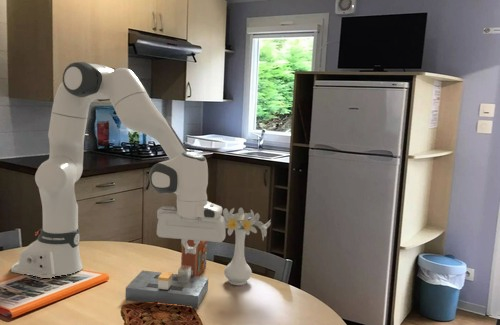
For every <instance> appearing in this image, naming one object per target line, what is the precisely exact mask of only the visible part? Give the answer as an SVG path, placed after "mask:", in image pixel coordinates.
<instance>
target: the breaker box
mask: <svg viewBox="0 0 500 325" xmlns="http://www.w3.org/2000/svg"><path fill="white" fill-rule="evenodd" d="M161 273H162V272H160V271H152V270H141V271H140V272H139V273H138V274H137V275H136V276H135V277H134V279H132V281H130V282H129V283H128V285H127V286H125V301H128V302H134V303H135V302H136V303H137V302H138V303H143V302H159V303H168V304H177V305H185V306H192V307H193V308H192V309H195V310H199V307H200V305H201V303H202V301H203V300H204V297H205V296H206V294H207V292H208V290H209V277H207V276H206V277H205V276H191V266H186V265H182V266H181V265H180V267H179V268H178V269H177V273H173V276H172V285H171V286H170V288H169V289H168V290H166V289H158V277H159V276H160V275H161Z"/></svg>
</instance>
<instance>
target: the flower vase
mask: <svg viewBox="0 0 500 325" xmlns="http://www.w3.org/2000/svg"><path fill="white" fill-rule="evenodd" d="M234 212H235V207H233V208H231V209H230V210H228V208H224V209H222V216H223V218H224V220H225V229H227V235H228V236H231V235H232V234H233V232H234V234H235V244H234V245H235V246H234V253H233V257H232V259H231V261H230V262H229V263H228V264H227V265H226V266H225V268H224V272H223V274H224V276H225V278H226V279H227V281H228V283H229V284H231V285H233V286H244V285H246V284H247V282H248V280H249V279H250V278H251V277H252V275H253V271H252V269H251V267H250V265H249V264H248V263H247V262H246V257H245V241H246V240H245V239H246V235H247V236H249V235H250V233H254V234H257V233H258V230H257V228H258V229H260V231H261V236H262V241H264V239H265V237H266V238H267V234H268V231H267V230H268V228H269V227H270V226H271V223H272V222H271V219H270V220H268V221H267V222H266V223H265V224H264V223H263V222H262V221H260V217H261V215H260V214H259V212H257V213H254V211H253V209H250V212H248V213H247V212H245V210H244V209H243V207H239V208H238V212H236V213H234ZM256 227H257V228H256Z"/></svg>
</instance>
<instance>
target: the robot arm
mask: <svg viewBox="0 0 500 325" xmlns="http://www.w3.org/2000/svg"><path fill="white" fill-rule="evenodd" d="M94 101H98V102H105V101H110V102H111V105H112V107H113V109H114V111H115V113H116V115H117V117H118V120H120V122H121V123H122V124H123V125H124V127H126V128H127V129H129V130H131V131H133V132H138V133H141V134H144V135H147V136H149V137H151V138H153V139H154V140H155V141H157V142H158V144H159V145H160V146H161V148H162V149H163V151H164V153H165V155H167V157H168V159H167V160H163V161H160V162H158V163H155V164H154V165H152V166H151V168H150V171H149V174H148V179H149V184H150V186H151V188H152V189H153V190H154V191H155V192H156V193H158V194H163V195H165V194H166V195H168V194H175V195H176V206H168V205H162V206H160V207H159V208H158V209H157V211H156V212H157V213H156V217H157V224H156V235H157V237H159V238H165V239H176V240H177V239H179V240H181V239H182V244H183V246H184V248H185V254H195V253H196V247H197V246H198V244H199V243H200V241H207V242H212V243H213V242H214V243H222V242H223V241H224V240H225V239H226V236H227V235H226V231H227V230H226V229H227V228H225V220H224V218H223V217H224V215H223V207H222V206H221V205H218V204H216V203H212V202H211V201H209V200H208V194H207V188H208V185H209V168H208V162H207V158H206V157H205V156H204V155H203V154H201V153H198V152H193V151H188V149H187V148H186V146H185V145H184V143H183V142H182V140H181V139H180V137H179V135H178V134H177V133H176V131H175V129H174V128H173V126H172V124H171V123H170V122H169V121H168V119H167V118H165V116H164V115H163V114H162V113H161V112H160V111H159V110H158V108H157V107H156V105H155V104H154V102H153V101H152V99H151V98H150V96H149V94H148V92H147V90H146V88H145V86H144V85H143V84H142V82H141V81H140V78H139V77H138V76H137V75H136V74H135V72H133V71H132V70H131V69H130V68H126V67H118V68H114V67H110V66H107V65H103V64H100V63H89V62H84V61H76V62H72V63H70V64H68V65H67V66H66V67H65V69H64V71H63V73H62V82H60V84H59V86H58V88H57V90H56V93H55V96H54V98H53V102H52V107H51V114H50V121H49V126H48V127H49V128H48V132H47V137H48V142H49V157H48V158H47V159H46V160H45V161H43V162H42V163H41V164H40V165H39V167H37V170H36V172H35V175H34V180H35V184H36V185H37V187H38V191H39V195H40V201H41V206H42V228H40V229H38V231H35V235H34V236H35V237H36V236H38V237H37V239H36V240H34V241H32V242H31V243H30V244H28V245H27V246H26V247H25V248H24V249H23V250H21V252H20V254H19V258H18V261H16V262H15V263H14V264H12V266H11V270H10V272H12V273H15V274H19V275H24V274H29V275H34V276H38V277H42V278H50V279H53V278H52V277H54V278H56V277H55V276H60V277H62V276H61V275H66V276H68V275H67V274H71V273H74V274H76V273H75V272H77V271H79V272H80V271H81V270H82V269H83V268H84V267H83V263H82V259H81V255H80V254H81V253H80V246H79V245H80V227H79V205H78V203H77V198H76V193H75V185H76V184H75V183H77V181H79V180H80V178H81V176H82V174H83V170H84V166H83V165H84V143H85V137H86V136H85V134H86V130H87V129H86V128H87V122H88V116H89V110H90V105H91V103H93V102H94ZM188 240H194V243H196V244H195V246H194V247H189V246H188V244H187V241H188ZM77 273H78V272H77ZM71 275H72V274H71ZM42 278H41V279H42Z"/></svg>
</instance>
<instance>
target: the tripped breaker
mask: <svg viewBox="0 0 500 325" xmlns="http://www.w3.org/2000/svg"><path fill="white" fill-rule="evenodd" d="M173 274H174V272H169V271H162V272H161V275H160V276H159V277H158V289H166V290H168V289H169V288H170V286H171V285H172V276H173Z"/></svg>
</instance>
